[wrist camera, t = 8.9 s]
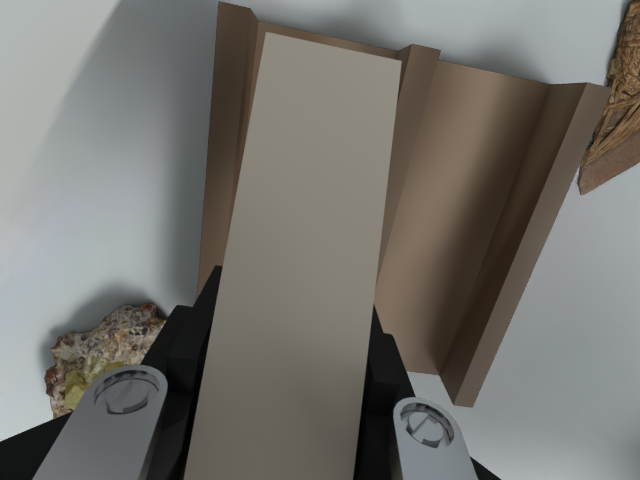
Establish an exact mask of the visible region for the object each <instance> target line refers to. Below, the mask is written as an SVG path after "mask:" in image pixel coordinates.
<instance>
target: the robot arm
mask: <svg viewBox="0 0 640 480" xmlns="http://www.w3.org/2000/svg"><path fill="white" fill-rule="evenodd" d="M222 268H223V266H218V265H215V267H214V268H213V270H212V272H211V274H210V276H209V278H208V280H207V282H206V283H205V285H204V287H203V289H202V291H201V293H200V295H199V297H198V299H197V300H196V302H195V304H194V306H193V307H190V306H182V305H177V306H176V307H175V308H174V309H173V311H172V313H171V314H170V316H169V318H168V319H167V321H166V322H165V324H164V326H163V327H162V329H161V330H160V332H159V334H158V335H157V337H156V339H155V340H154V342H153V343H152V345H151V347H150V348H149V350H148V352H147V353H146V355H145V356H144V358H143V360H142V361H141V363H140V365H127V366H122V367H118V368H115V369H112V370H110V371H108V372H106V373H104V374H102V375H101V376H99V377H98V378H97V379H95V380H94V381H93V382H92V383H91V384H90V386H89V387H88V388H87V389H86V391H85V393H84V394H83V396H82V398H81V399H80V401H79V403H78V404H77V406H76V408H75V409H74V411H72V412H69V413H67V414H64V415H62V416H60V417H57V418H55V419H53V420H50V421H48V422H46V423H43V424H41V425H38V426H36V427H34V428H31V429H29V430H27V431H24V432H22V433H20V434H17V435H15V436H13V437H10V438H8V439H5V440H3V441H1V442H0V480H184V474H185V469H186V464H187V458H188V453H189V447H190V442H191V436H192V431H193V426H194V420H195V415H196V409H197V404H198V398H199V393H200V388H201V382H202V377H203V371H204V366H205V360H206V355H207V350H208V344H209V339H210V333H211V328H212V322H213V317H214V312H215V306H216V301H217V295H218V290H219V284H220V279H221V274H222ZM353 480H501V479H500V478H498V477H497V476H496V475H494V474H493V473H492V472H490V471H489V470H488V469H486V468H485V467H484V466H482V465H481V464H480V463H478V462H477V461H476V460H474V459H473V458H472V457H470V456H469V453H468V450H467V447H466V445H465V442H464V439H463V436H462V433H461V431H460V429H459V427H458V425H457V423H456V421H455V420H454V419H453V418H452V416H451V415H450V414H449V413H448V412H447V411H445V410H444V409H443V408H442V407H440V406H439V405H437V404H435V403H433V402H431V401H429V400H425V399H422V398H416V397H415V394H414V391H413V389H412V386H411V383H410V380H409V378H408V375H407V372H406V369H405V367H404V364H403V361H402V358H401V356H400V353H399V350H398V347H397V345H396V342H395V339H394V337H393V335H392V334H388V333H384V332H383V329H382V326H381V323H380V320H379V317H378V314H377V311H376V308H375V305H374V304H373V312H372V321H371V329H370V338H369V346H368V355H367V364H366V372H365V381H364V389H363V398H362V407H361V415H360V424H359V432H358V441H357V450H356V458H355V467H354V475H353Z"/></svg>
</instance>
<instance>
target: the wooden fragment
mask: <svg viewBox="0 0 640 480" xmlns="http://www.w3.org/2000/svg"><path fill="white" fill-rule="evenodd" d="M606 78H608V86H607V87H610V88H613V90H612V92H611V94H610V96H609V99H608V101H607V103H606V105H605V108H604V110H603V112H602V114H601V117H600V119H599V121H598V124H597V127H596V130H595V132H594V143H593V145H592V146H591V147H589V148H588V149H586V151H585V153H584V156H583V159H582V160H581V162H580V172H579V178H578V186H579V189H580V195H584V194H586V193H588V192H589V191H591V190H593V189H595V188H596V187H598V186H599V185H601V184H603V183H605V182H606V181H608V180H609V179H611V178H613V177H615V176H616V175H618V174H620V173H622V172H624V171H626V170H627V169H629V168H631V167H633V166H634V165H636V164H638V163H639V162H640V0H633V1H631V3H630V4H629V6H628V8H627V11H626V13H625V16H624V19H623V21H622V23H621V25H620V27H619V30H618V35H617V45H616V48H615V51H614V54H613V56H612V58H611V61H610V65H609V70H608V74H607V77H606Z"/></svg>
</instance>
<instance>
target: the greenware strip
mask: <svg viewBox="0 0 640 480" xmlns="http://www.w3.org/2000/svg"><path fill="white" fill-rule="evenodd" d="M401 63H402V61H399V60H394V59H390V58H385V57H380V56H376V55H371V54H366V53H362V52H357V51H353V50H348V49H343V48H339V47H334V46H329V45H325V44H320V43H315V42H311V41H306V40H302V39H297V38H292V37H288V36H283V35H278V34H274V33H269V32H266V35H265V40H264V46H263V51H262V57H261V62H260V67H259V73H258V78H257V84H256V89H255V95H254V100H253V105H252V111H251V116H250V122H249V127H248V133H247V138H246V143H245V149H244V154H243V160H242V165H241V171H240V176H239V181H238V187H237V192H236V198H235V203H234V209H233V214H232V219H231V225H230V230H229V236H228V241H227V246H226V252H225V257H224V263H223V268H222V274H221V279H220V284H219V290H218V295H217V301H216V306H215V312H214V317H213V322H212V328H211V333H210V339H209V344H208V350H207V355H206V360H205V366H204V371H203V377H202V382H201V388H200V393H199V398H198V404H197V409H196V415H195V420H194V426H193V431H192V436H191V442H190V447H189V453H188V458H187V464H186V469H185V474H184V480H353V475H354V467H355V458H356V450H357V441H358V432H359V424H360V415H361V407H362V398H363V389H364V381H365V372H366V364H367V355H368V346H369V338H370V329H371V321H372V312H373V304H374V295H375V286H376V278H377V269H378V261H379V252H380V243H381V235H382V226H383V218H384V209H385V201H386V192H387V183H388V175H389V166H390V158H391V149H392V140H393V132H394V123H395V115H396V106H397V98H398V89H399V80H400V72H401Z"/></svg>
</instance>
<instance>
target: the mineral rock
mask: <svg viewBox="0 0 640 480" xmlns="http://www.w3.org/2000/svg"><path fill="white" fill-rule="evenodd" d="M166 321H167V320H163V319H161V318H160V317H159V316H158V314H157V308H156V306H155V305H153V304H151V303H149V304H144V305H142V306H141V307H138V308H136V307H134V306H133V305H126V306H123V307H119V309H115V310H114V311H113V312H112V313H111V314H110V315H109V316H107V317H105V318H104V319H103V321H102V323H101V325H99V326H98V327H96V328H95V329H94V330H93V331H91V332H88V331H87V332H81V333H80V334H79V333H75V332H70V333H68V334H66V335H64V336H60V337H58V340H57V343H56V344H55V347H52V348H50V349H51V351H52V352H53V356H54V358H55V361H56V363H55V364H56V365H54V366H52V367H50V368H49V369H48V370H47V371H46V374H45V378H44V379H45V382H46V387H47V390H46V394H48V395H49V396H50V404H51V409H52V411H53V418H54V419H55V418H57V417H60V416H62V415H64V414H67V413H69V412H72V411H74V409H75V408H76V406H77V404H78V403H79V401H80V399H81V398H82V396H83V394H84V393H85V391H86V389H87V388H88V387H89V386H90V384H91V383H92V382H93V381H94V380H95V379H97V378H98V377H99V376H101V375H102V374H104V373H106V372H108V371H110V370H112V369H115V368H118V367H122V366H127V365H140V363H141V361H142V360H143V358H144V356H145V355H146V353H147V352H148V350H149V348H150V347H151V345H152V343H153V342H154V340H155V339H156V337H157V335H158V334H159V332H160V330H161V329H162V327H163V326H164V324H165V322H166Z"/></svg>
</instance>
